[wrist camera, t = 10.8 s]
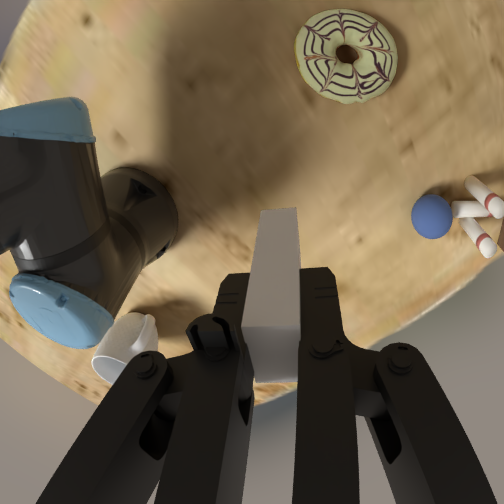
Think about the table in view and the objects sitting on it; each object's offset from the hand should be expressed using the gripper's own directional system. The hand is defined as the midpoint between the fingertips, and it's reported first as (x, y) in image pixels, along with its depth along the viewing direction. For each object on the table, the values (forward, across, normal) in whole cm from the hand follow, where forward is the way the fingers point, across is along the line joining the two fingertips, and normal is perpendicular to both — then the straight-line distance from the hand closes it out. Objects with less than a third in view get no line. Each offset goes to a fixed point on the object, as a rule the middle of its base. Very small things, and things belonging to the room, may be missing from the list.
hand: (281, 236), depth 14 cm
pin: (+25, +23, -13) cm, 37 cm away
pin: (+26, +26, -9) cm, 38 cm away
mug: (+27, -31, -33) cm, 53 cm away
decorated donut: (+27, +8, +8) cm, 29 cm away
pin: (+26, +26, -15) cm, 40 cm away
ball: (+23, +19, -13) cm, 33 cm away
